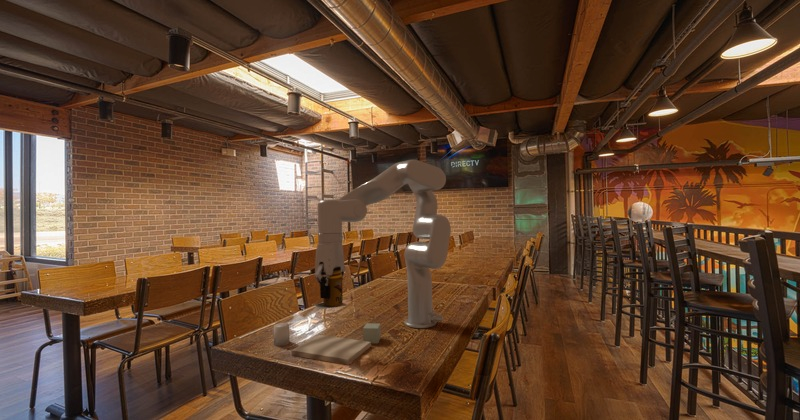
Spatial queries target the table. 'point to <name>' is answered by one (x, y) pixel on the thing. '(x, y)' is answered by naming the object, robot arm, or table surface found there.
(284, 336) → the pale stubby cylinder
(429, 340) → the table surface
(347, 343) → the maple board
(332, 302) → the condiment
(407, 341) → the table surface
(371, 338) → the sage block
